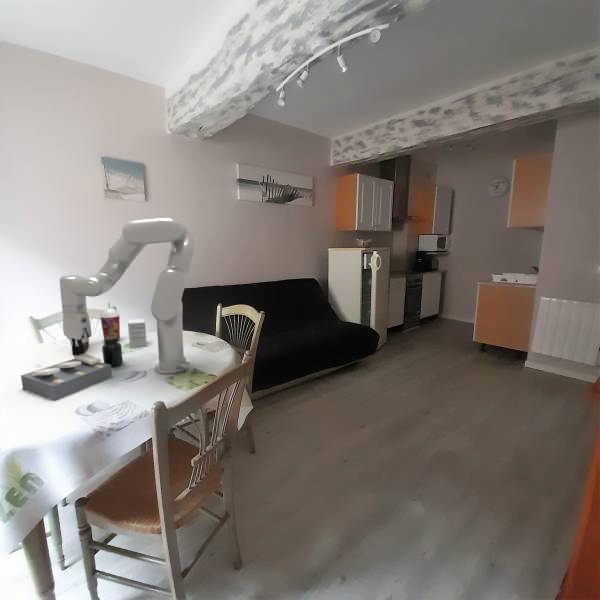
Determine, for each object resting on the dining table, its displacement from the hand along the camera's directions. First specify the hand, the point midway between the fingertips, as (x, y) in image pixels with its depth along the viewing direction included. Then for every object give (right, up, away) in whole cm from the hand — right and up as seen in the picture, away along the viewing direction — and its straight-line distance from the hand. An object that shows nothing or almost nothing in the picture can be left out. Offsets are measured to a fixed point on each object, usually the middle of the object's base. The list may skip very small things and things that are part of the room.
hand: (78, 354), depth 123 cm
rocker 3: (+4, -1, -2) cm, 5 cm away
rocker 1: (-1, -3, -14) cm, 15 cm away
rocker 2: (+1, -2, -8) cm, 8 cm away
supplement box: (+6, -1, +35) cm, 35 cm away
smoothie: (-10, 0, +39) cm, 40 cm away
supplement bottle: (+8, -6, +10) cm, 14 cm away
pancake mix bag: (-16, -2, +27) cm, 32 cm away
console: (+1, -9, -7) cm, 11 cm away
